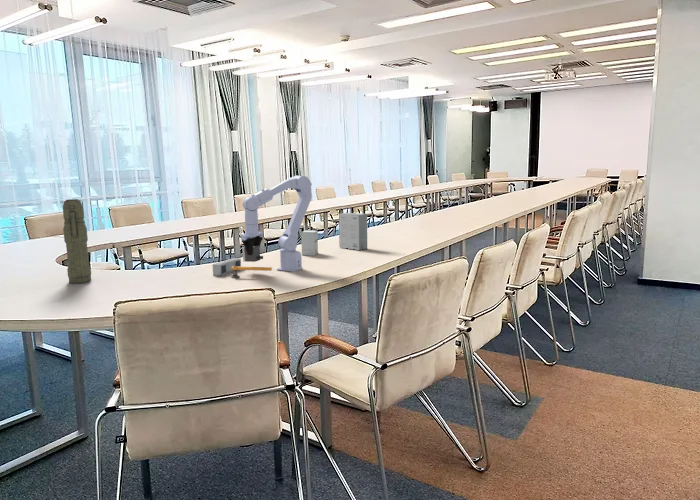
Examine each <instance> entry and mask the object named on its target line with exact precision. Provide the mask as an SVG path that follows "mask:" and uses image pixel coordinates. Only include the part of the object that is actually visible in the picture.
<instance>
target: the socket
mask: <svg viewBox="0 0 700 500" xmlns="http://www.w3.org/2000/svg"><path fill="white" fill-rule="evenodd" d="M241 259H242V258H239V257H232V258H229V259H225V260H222V261H220V262H219V261H218V262H216V263H212V276H217V277H221V276H224V275H228V274H230V273H233V270H232V266H238V267H242V263H241V262H242V260H241Z"/></svg>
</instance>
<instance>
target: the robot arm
mask: <svg viewBox="0 0 700 500" xmlns="http://www.w3.org/2000/svg"><path fill="white" fill-rule="evenodd" d="M288 189H294V190H295V191H296V193H297V195H298V197H299V198H298V201H297V203H296V206H295V208H294V210H293V213H292V214H291V215H292V216H291V217H290V221H289V223H288V226H287V228H286V229H285V230H284V231H283V234H282V235H280V236H279V238H278V243H277V244H278V246H279V247H280V249H279V255H280V267H278V268H276V270H277V271H284V272H285V271H287V272H297V271H300V270H302V269H303V266H302V264H303V262H302V252H300V251H298V250H297V247H298V239H299V234H298V233H299V230H300V228H301V225H302V223H303V220H304V218H305V215H306V213H307V211H308V209H309V205H310V203H311V200H312V197H313V195H312V194H313V193H312V182H311V180H310V179H309V177H308V176H306V175H297V174H296V175H293V176H292V177H288V178H287V179H285V180H283V181H282V182H280V183H278V184H277V185H275V186H273V187H271V188H270V189H269V188H261V189H260V191H258V192H256V193H252V194H251V196H247V197H246V198H244V200H243V201H242V207H243V208H244V224H245V225H244V227H245V233H243V235H241V236H240V240H241V243H242V244H243V247H245V248H246V251H247V255H252V253H253V246H259V248H260V245H261V244H262V241H263V238H264V237H263V233H264V232H263V231H259V213H258V209H259V208H260V207H261V206H263V205H264V204H266V203H269V202H271V201H272V200H273V199H274V198H273V197H274V196H276V195H277V194H279V193H283V191H286V190H288Z"/></svg>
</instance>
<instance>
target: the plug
mask: <svg viewBox="0 0 700 500" xmlns="http://www.w3.org/2000/svg"><path fill="white" fill-rule="evenodd" d="M241 249H242V251H241V252H242V262H252V263H255V262H259V261H261V260H263V259H264V256H263V255H261V252H260V247H259V246H253V253H252V255H247V251H246V248H245V246H242V247H241Z"/></svg>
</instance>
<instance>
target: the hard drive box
mask: <svg viewBox="0 0 700 500" xmlns="http://www.w3.org/2000/svg"><path fill="white" fill-rule="evenodd" d="M338 227H339V228H338V235H339V237H338V239H339V244H338V245H339V247H341V248H340V249H345V248H348V249H347V250H353V249H355V250H354V251H362V249H363V250H367V249H368V214H367V213H360V212H359V213H358V212H357V213H356V212H342V213H339V214H338ZM366 248H367V249H366Z"/></svg>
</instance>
